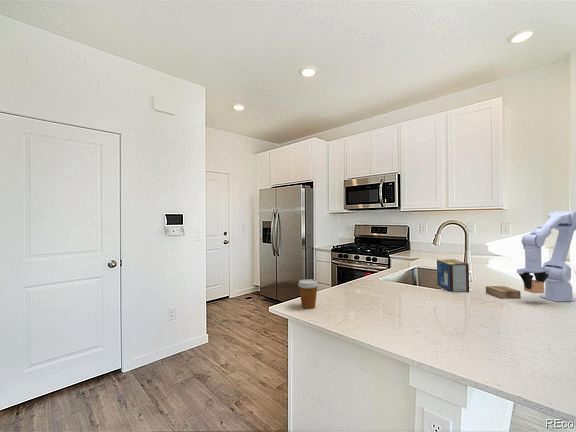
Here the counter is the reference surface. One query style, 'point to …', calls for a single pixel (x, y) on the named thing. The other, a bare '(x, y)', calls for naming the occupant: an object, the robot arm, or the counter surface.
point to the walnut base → (503, 292)
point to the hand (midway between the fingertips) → (533, 288)
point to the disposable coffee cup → (308, 293)
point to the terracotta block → (536, 287)
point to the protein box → (453, 275)
